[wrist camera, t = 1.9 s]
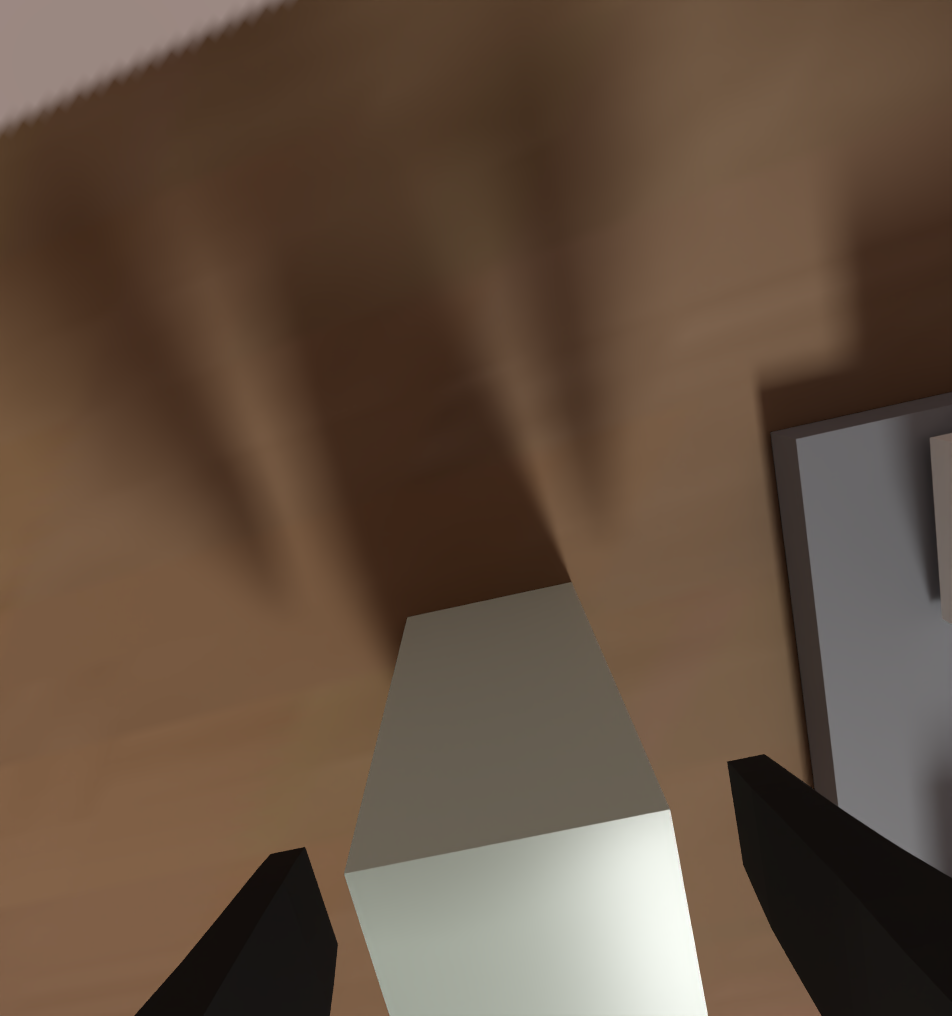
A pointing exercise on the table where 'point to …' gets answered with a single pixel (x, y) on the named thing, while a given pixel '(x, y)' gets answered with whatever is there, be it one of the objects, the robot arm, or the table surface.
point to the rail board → (876, 613)
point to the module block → (517, 828)
